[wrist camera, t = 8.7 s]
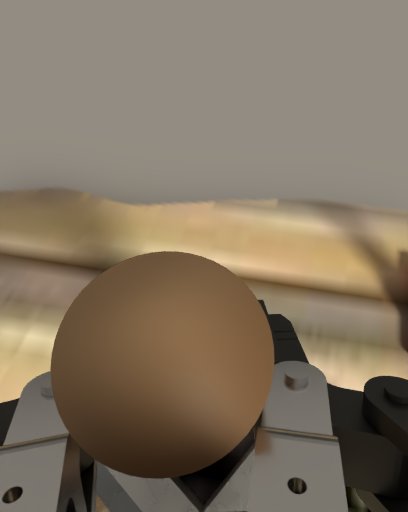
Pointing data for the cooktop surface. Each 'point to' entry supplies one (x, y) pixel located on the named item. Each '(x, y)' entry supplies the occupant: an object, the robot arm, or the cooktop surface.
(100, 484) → the plate
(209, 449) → the dowel pin
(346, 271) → the cooktop surface
